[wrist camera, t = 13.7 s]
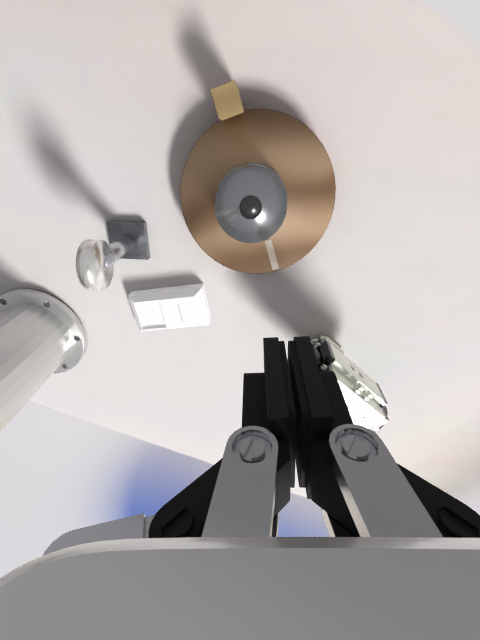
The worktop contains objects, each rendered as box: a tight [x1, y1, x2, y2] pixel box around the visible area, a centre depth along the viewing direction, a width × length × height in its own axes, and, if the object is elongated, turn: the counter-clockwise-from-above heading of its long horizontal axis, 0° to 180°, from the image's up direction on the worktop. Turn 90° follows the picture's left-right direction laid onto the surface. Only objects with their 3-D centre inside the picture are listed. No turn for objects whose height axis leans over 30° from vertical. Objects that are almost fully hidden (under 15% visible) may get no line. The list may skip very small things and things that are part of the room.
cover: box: [215, 163, 287, 243], centre depth 30 cm, size 7×7×4 cm
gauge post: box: [76, 221, 150, 290], centre depth 31 cm, size 4×4×11 cm
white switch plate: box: [128, 283, 211, 331], centre depth 39 cm, size 5×9×3 cm, turn 98°
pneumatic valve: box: [287, 335, 389, 433], centre depth 36 cm, size 6×12×12 cm, turn 49°
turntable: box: [180, 80, 336, 273], centre depth 30 cm, size 17×15×4 cm
